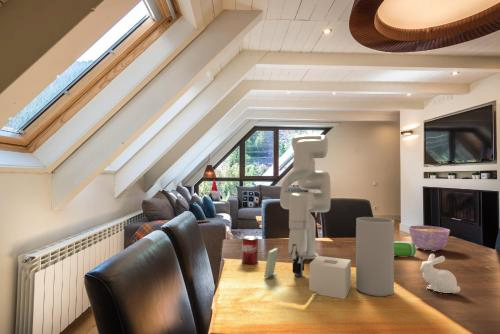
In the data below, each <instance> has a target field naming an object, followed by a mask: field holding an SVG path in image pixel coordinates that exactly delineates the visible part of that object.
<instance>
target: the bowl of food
mask: <svg viewBox="0 0 500 334" xmlns="http://www.w3.org/2000/svg"><path fill="white" fill-rule="evenodd" d="M408 231H409V236H410V238H411V241H412V243H414V245H415V247H416V248H419V249H420V248H421V249H425V250H437V251H439V250H442V249H443V248H445V247H446V246H447V243H448V239H449V236H450V232H451V229H449V228H445V227H440V226H432V225H410V226H408ZM421 249H420V250H421ZM425 250H424V251H425Z"/></svg>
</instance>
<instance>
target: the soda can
mask: <svg viewBox="0 0 500 334" xmlns="http://www.w3.org/2000/svg"><path fill="white" fill-rule="evenodd" d="M241 263H242V264H243V265H247V266H251V265H257V264H259V238H258V237H256V236H251V235H250V236H248V235H247V236H244V237H242V238H241Z"/></svg>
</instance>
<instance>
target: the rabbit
mask: <svg viewBox="0 0 500 334" xmlns="http://www.w3.org/2000/svg"><path fill="white" fill-rule="evenodd" d="M435 257H436V255H435V254H434V253H430V254H429V256H428V259H427V260H426V261H425V260H424V261H422V262H421V266H420V268H419V270H420V272H422V277H423V280H424V281H425V282H427V283H428V284H429V285H427V286H426V289H427V288H428V289H433V290H434V291H438V292H443V293H453V294H452V295H454V294H458V293H459V292H460V291H461V287H460V286H459V285H458V282H457V277H456V276H455V275H454V273H452V272H451V271H449V270H447V269H438V268H435V267H434V265H436V264H441V263H443V262H445V261H446V257H445V256H444V255H441V256H438V257H436V258H435ZM428 286H429V287H428ZM434 291H433V292H434Z"/></svg>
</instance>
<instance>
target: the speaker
mask: <svg viewBox="0 0 500 334" xmlns="http://www.w3.org/2000/svg"><path fill="white" fill-rule="evenodd" d="M416 248H417V247H416V246H415V245H414V243H413V242H411V241H405V240H404V241H403V240H402V241H400V240H399V241H397V240H394V255H395V256H410V257H414V256H415V255H416V253H417V251H416V250H417V249H416Z"/></svg>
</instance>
